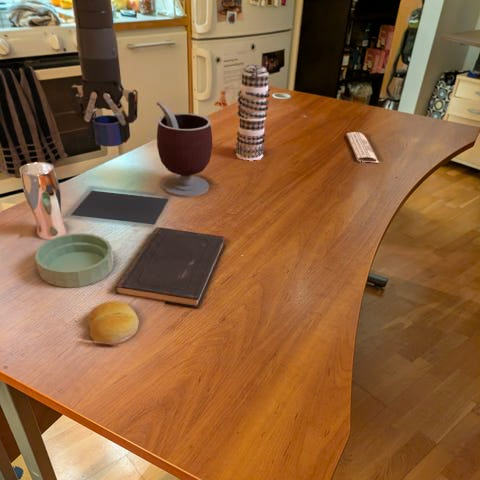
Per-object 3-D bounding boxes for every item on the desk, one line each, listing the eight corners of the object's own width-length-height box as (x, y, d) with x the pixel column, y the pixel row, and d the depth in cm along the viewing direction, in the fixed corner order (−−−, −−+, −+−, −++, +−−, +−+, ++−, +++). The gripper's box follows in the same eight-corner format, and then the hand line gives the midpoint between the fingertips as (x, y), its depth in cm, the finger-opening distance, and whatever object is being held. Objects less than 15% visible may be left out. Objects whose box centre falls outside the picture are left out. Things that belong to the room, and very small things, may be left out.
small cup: (91, 145, 99) (87, 122, 96) (101, 135, 103) (98, 113, 100) (119, 147, 98) (116, 125, 95) (128, 138, 103) (126, 116, 100)
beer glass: (35, 228, 103) (17, 163, 94) (67, 224, 105) (54, 160, 96) (36, 244, 98) (18, 176, 89) (70, 239, 100) (56, 173, 91)
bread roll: (93, 351, 75) (89, 333, 72) (87, 317, 81) (83, 299, 78) (144, 341, 77) (142, 323, 75) (134, 308, 84) (131, 291, 81)
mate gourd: (221, 186, 126) (224, 108, 113) (189, 203, 117) (188, 121, 104) (178, 171, 132) (175, 96, 119) (144, 186, 123) (137, 107, 110)
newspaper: (346, 136, 163) (347, 131, 162) (366, 138, 163) (367, 132, 162) (356, 161, 145) (358, 156, 144) (379, 163, 145) (380, 157, 144)
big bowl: (26, 284, 87) (21, 267, 85) (58, 246, 98) (54, 229, 96) (98, 293, 86) (95, 276, 84) (123, 254, 97) (121, 237, 95)
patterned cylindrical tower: (270, 156, 144) (279, 67, 128) (250, 163, 139) (257, 72, 123) (249, 148, 149) (254, 61, 133) (228, 154, 144) (232, 65, 128)
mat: (66, 220, 107) (66, 219, 106) (92, 191, 119) (92, 190, 119) (150, 230, 105) (150, 228, 105) (168, 200, 118) (168, 198, 117)
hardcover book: (224, 245, 102) (225, 236, 100) (198, 308, 85) (198, 298, 83) (155, 235, 104) (155, 226, 102) (115, 295, 86) (114, 285, 85)
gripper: (140, 52, 92) (146, 137, 103) (70, 46, 93) (84, 131, 104) (128, 60, 86) (136, 149, 97) (54, 53, 87) (71, 142, 98)
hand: (109, 139), depth 100 cm, fingers closed on small cup, 6 cm apart
